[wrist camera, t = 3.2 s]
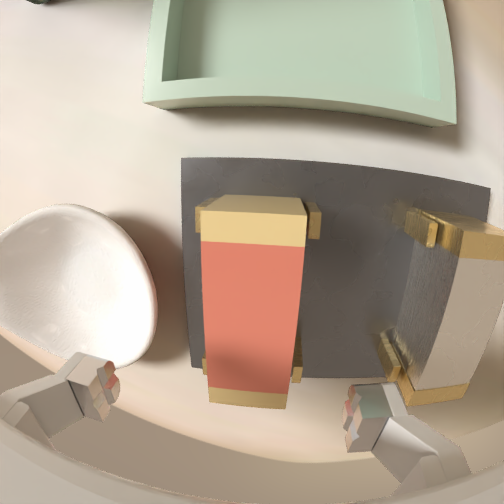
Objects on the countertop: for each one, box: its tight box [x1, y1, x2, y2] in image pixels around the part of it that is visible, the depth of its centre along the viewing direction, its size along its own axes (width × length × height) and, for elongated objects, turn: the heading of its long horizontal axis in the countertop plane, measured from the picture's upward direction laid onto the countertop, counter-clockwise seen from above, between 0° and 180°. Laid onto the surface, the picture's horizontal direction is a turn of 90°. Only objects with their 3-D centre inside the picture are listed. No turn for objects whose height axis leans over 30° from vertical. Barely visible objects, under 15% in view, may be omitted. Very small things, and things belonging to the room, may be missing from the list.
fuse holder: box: [181, 158, 504, 406], centre depth 15 cm, size 19×14×6 cm
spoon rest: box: [0, 204, 158, 369], centre depth 17 cm, size 24×12×7 cm, turn 86°
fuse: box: [200, 194, 307, 409], centre depth 15 cm, size 4×10×5 cm, turn 178°
